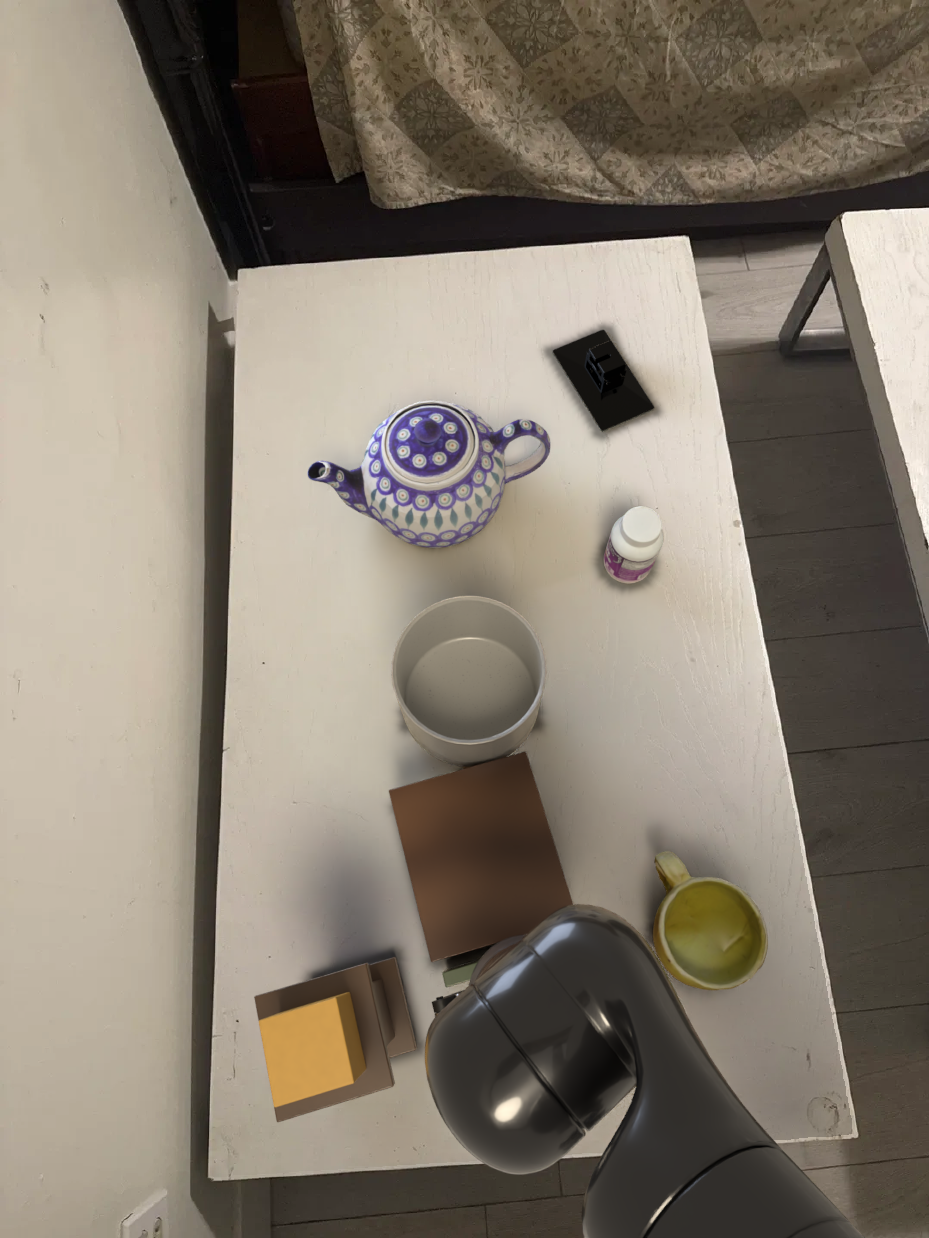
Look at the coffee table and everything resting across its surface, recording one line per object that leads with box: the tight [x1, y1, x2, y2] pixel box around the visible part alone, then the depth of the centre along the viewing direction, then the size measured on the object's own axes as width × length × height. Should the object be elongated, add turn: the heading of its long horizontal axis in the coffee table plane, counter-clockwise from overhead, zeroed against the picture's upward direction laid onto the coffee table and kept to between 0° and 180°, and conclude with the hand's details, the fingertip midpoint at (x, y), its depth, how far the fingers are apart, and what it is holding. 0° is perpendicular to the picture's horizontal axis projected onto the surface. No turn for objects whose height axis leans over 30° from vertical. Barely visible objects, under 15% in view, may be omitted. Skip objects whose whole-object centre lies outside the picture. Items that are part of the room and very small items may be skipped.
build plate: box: [552, 329, 655, 433], centre depth 101 cm, size 12×7×5 cm, turn 25°
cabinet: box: [388, 751, 574, 963], centre depth 79 cm, size 15×13×11 cm
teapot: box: [307, 399, 551, 549], centre depth 91 cm, size 25×15×15 cm, turn 99°
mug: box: [652, 850, 769, 991], centre depth 78 cm, size 12×10×10 cm
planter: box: [390, 595, 548, 769], centre depth 81 cm, size 13×13×18 cm
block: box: [258, 992, 366, 1108], centre depth 56 cm, size 5×5×6 cm
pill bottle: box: [603, 505, 665, 584], centre depth 90 cm, size 5×5×10 cm
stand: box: [254, 956, 418, 1123], centre depth 70 cm, size 8×8×22 cm
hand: (518, 986), depth 67 cm, fingers closed
